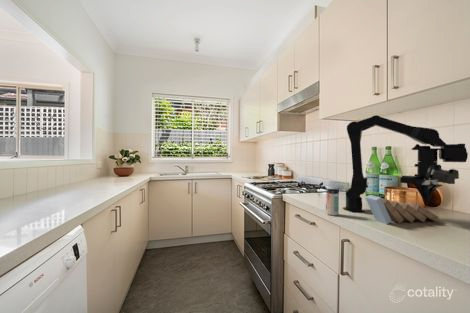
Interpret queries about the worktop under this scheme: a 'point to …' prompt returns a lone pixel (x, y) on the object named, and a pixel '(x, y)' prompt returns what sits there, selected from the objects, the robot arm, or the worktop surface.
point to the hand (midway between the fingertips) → (426, 201)
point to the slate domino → (378, 209)
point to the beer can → (332, 200)
